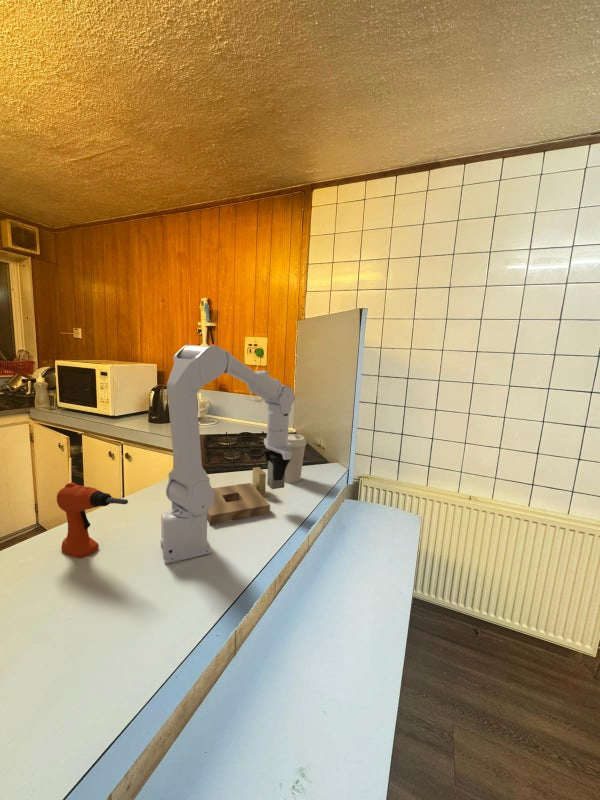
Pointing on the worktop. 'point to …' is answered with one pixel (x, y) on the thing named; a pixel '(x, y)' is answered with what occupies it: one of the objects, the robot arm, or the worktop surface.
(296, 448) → the coffee cup
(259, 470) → the block
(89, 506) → the toy drill
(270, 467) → the square bit
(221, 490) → the plate
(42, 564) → the worktop surface
